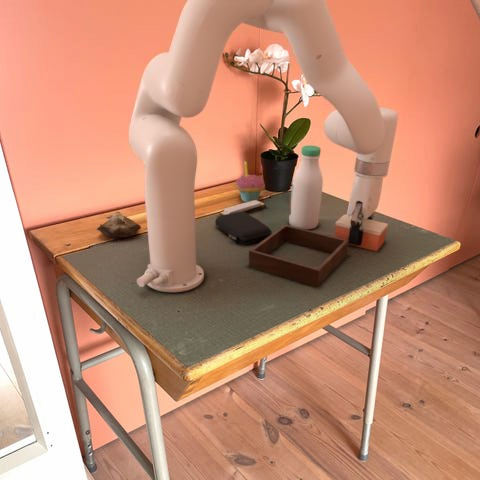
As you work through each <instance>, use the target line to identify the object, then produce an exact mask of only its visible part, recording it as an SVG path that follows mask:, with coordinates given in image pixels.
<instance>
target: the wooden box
mask: <svg viewBox="0 0 480 480" xmlns="http://www.w3.org/2000/svg"><path fill="white" fill-rule="evenodd" d="M334 236H335V235H334ZM334 236H333V235H330V234H325V233H321V232H317V231H313V230H311V229H302V228H298V227H294V226H291V225H290V224H283V225H282V226H280V227H279V228H278V229H276V230H275V231H274V232H272V234H271V235H270V236H268V237H267V238H266V239H264V240H261V241H260V242H259V243H258V244H256V245H255V246H254V247H252V248H251V249H250V250H249V251H248V252H249V253H248V267H249V268H251V269H253V270H254V269H255V270H258V271H262V272H265V273H268V274H271V275H275V276H279V277H281V278H285V279H288V280H290V281H291V280H292V281H294V282H298V283H302V284H305V285H308V286H312V287H314V288H318V287H319V286H320V285H321V284H322V283H323V282H324V281H325V279H326V278H327V277H328V276H329V275H330V274H331V273H332V272H333V271H334V270H335V269H336V268H337V266H338V265H339V264H340V263H341V262H342V261H343V260H344V259H345V258H346V257H347V255H348V249H349V240H346V239H342V238H338V237H334ZM285 242H287V243H291V244H295V245H299V246H302V247H307V248H309V249H314V250H318V251H321V252H326V253H329V254H330V255H329V256H327V257H326V258H325V260H324V261H323V262H321V263H320V265H319V266H318V267H314V266H311V265H307V264H304V263H300V262H297V261H293V260H289V259H286V258H283V257H279V256H276V255H271V254H270V253H272V252H273V251H274V250H275V249H277V248H279V246H281V245H282V244H283V243H285Z"/></svg>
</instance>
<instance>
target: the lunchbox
mask: <svg viewBox="0 0 480 480" xmlns="http://www.w3.org/2000/svg"><path fill="white" fill-rule="evenodd" d="M352 215H353V214H352ZM352 215H351V216H348V215H347V213H344V214H343V215H342V216H341V217H340V218H338V219H337V220H336V221H335V230H334V237H338V238H342V239H346V240H348V238H349V232H350V225H351V217H352ZM358 222H359V223H360V224H361V220H360V219H358ZM388 227H389V223H387V222H382V221H378V220H374V219H373V220H369V219H365V222H364V225H363V229H362V230H364V231H363V237H362V243H361V245H360V246H357V245H353V244H348V246H349V245H350V246H354V247H357V248H362V249H366V250H369V251H373V252H377V251H379V249H380V248H381V247H382V245H384V243H385V239H386V234H387V229H388Z"/></svg>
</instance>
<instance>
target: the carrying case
mask: <svg viewBox="0 0 480 480" xmlns="http://www.w3.org/2000/svg"><path fill="white" fill-rule="evenodd" d="M214 222H215V225H216V227H218V228H219V229H221V230H222V231H223V232H225V233H226V234H228V238H229V239H232V240H234V241H237V242H238V243H241V244H242V245H244V244H245V245H247V244H251V243H255V242H259V241H260V242H261V241H263V240H264V239H266V238H267V237H268V236H270V235H271V234H272V233H273V232H272V229H270V227H269V226H267V225H266V224H264V222H262V221H261V220H258V219H257V218H255V217H253V216H252V215H250V213H248V214H247V213H246V212H242V211H241V212H235V213H231V214H226V215H221V216H219V215H218V216H217V218H216V219H214Z"/></svg>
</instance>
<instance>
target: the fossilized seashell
mask: <svg viewBox="0 0 480 480" xmlns="http://www.w3.org/2000/svg"><path fill="white" fill-rule="evenodd" d="M141 229H142V226H141V225H140V224H139V223H137V222H136V221H134V220H133V219H131V218H129V217H127V216H125V215H123V214H122V213H121V212H120V211H116V212H115V213H114V214H111V215H110V216H109V218H108V220H107V221H106V222H104V223H102V224H99V226H98V227H97V228H96V230H97V231H99V232H100V233H101V234H102V235H104V236H105V237H107V238H110V239H111V238H112V239H114V238H115V239H116V238H129V237H132V236H133V235H136V233H138V231H139V230H141Z"/></svg>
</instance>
